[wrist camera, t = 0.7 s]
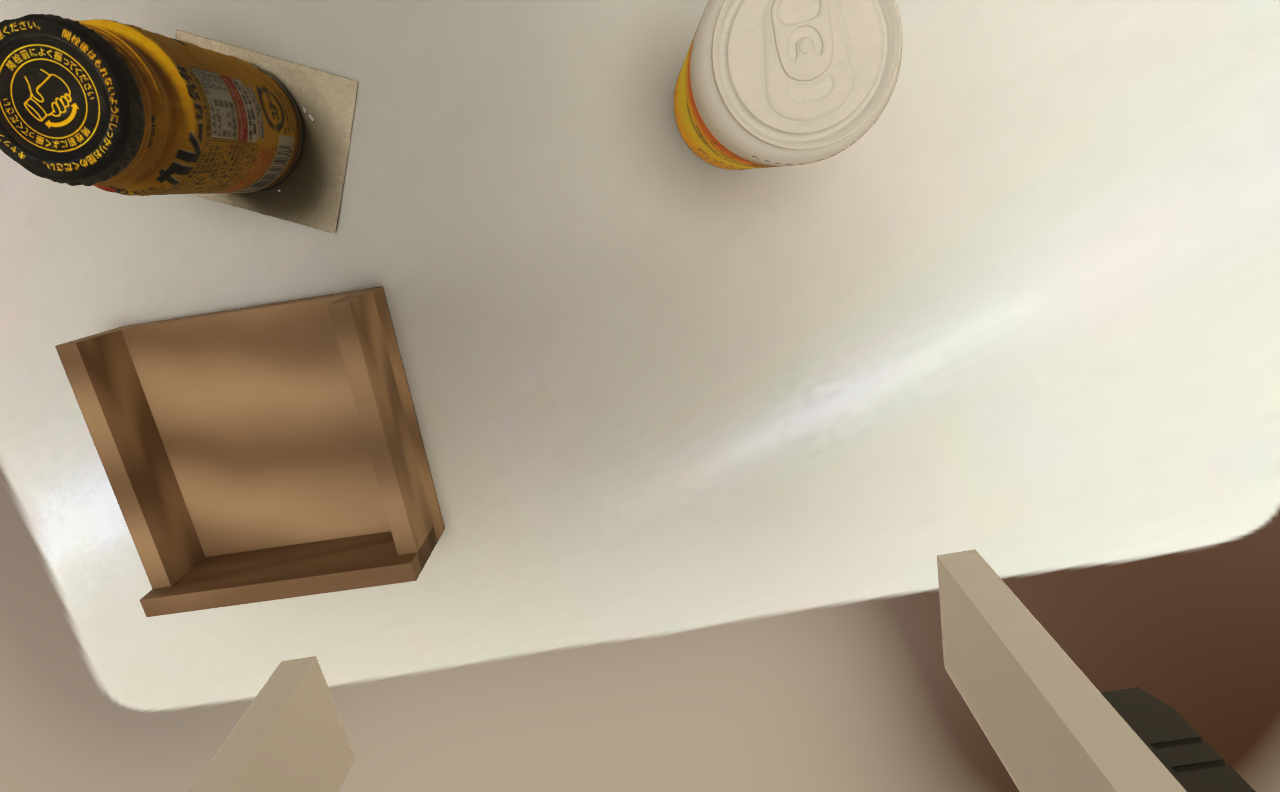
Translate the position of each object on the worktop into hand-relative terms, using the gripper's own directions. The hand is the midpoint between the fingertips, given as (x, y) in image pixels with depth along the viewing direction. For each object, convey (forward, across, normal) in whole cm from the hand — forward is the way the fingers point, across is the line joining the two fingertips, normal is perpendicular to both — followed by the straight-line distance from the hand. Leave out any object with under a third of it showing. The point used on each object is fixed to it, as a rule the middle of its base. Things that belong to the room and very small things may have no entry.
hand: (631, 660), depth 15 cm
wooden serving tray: (+24, -19, 0) cm, 31 cm away
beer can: (+24, +7, +12) cm, 28 cm away
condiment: (+25, -16, +14) cm, 33 cm away
